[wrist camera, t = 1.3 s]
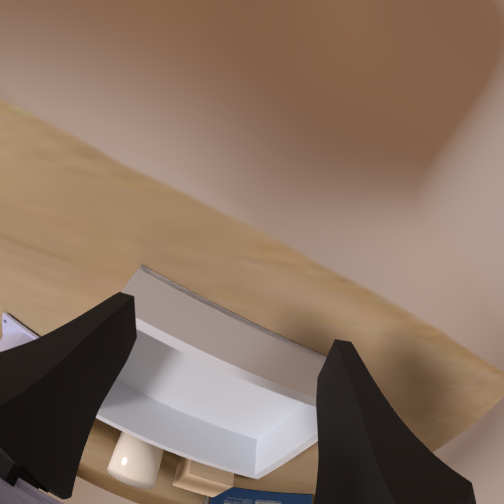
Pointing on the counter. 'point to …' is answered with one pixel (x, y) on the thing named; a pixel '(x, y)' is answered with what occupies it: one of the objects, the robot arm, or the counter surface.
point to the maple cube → (202, 478)
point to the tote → (212, 383)
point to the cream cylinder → (135, 462)
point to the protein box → (257, 497)
